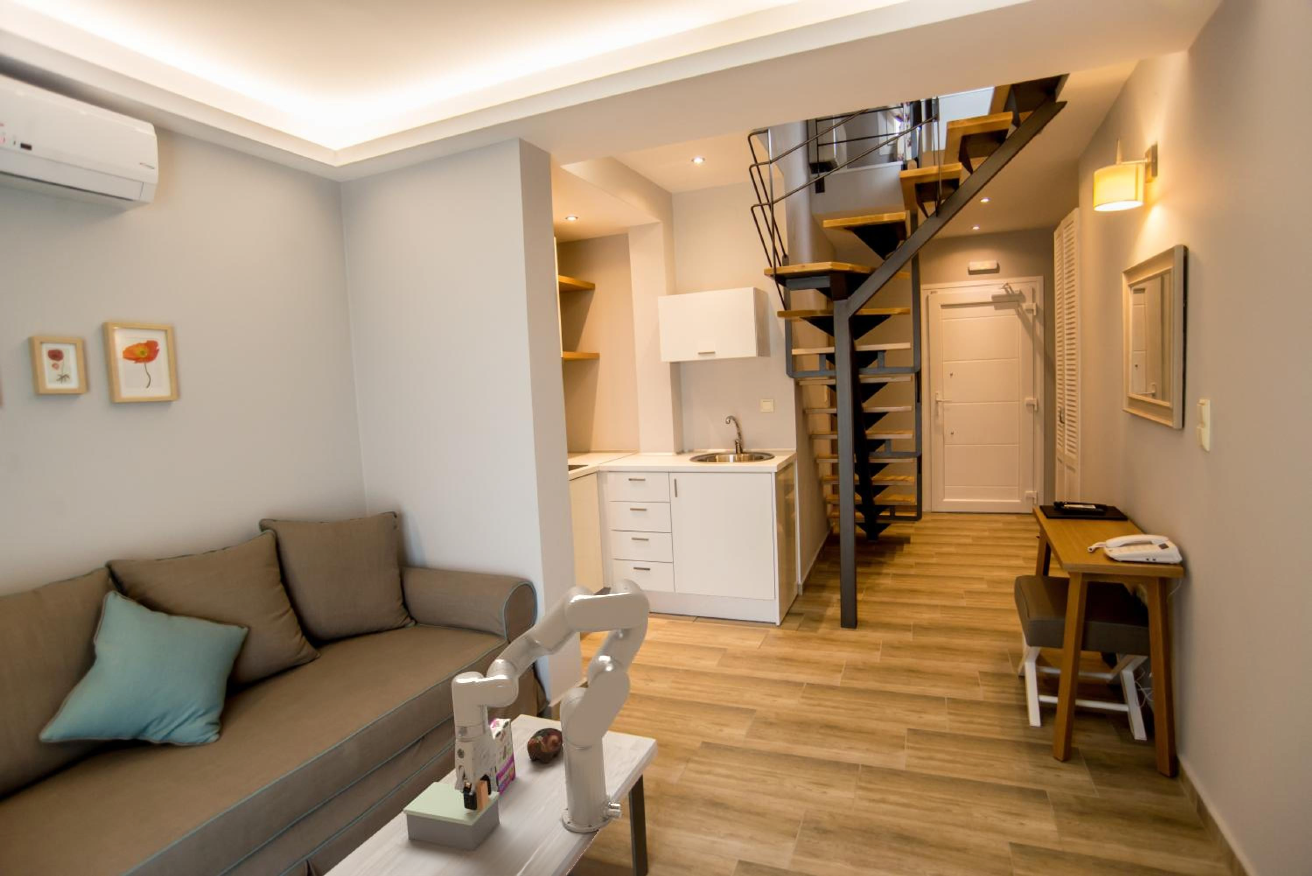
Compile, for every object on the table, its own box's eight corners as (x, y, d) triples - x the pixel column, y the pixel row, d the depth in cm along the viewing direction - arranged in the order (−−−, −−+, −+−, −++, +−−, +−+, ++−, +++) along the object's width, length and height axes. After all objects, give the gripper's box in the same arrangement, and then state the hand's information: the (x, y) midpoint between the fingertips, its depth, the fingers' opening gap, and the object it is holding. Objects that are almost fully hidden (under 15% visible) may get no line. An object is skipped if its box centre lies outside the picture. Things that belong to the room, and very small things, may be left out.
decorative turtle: (517, 768, 193) (515, 739, 193) (546, 745, 206) (544, 718, 207) (547, 772, 189) (544, 743, 189) (574, 748, 203) (572, 720, 203)
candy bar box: (499, 775, 190) (494, 717, 189) (516, 776, 189) (511, 718, 188) (481, 799, 179) (476, 738, 178) (499, 800, 178) (494, 739, 177)
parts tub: (499, 824, 168) (497, 797, 167) (473, 854, 157) (470, 825, 157) (438, 813, 174) (435, 787, 173) (408, 841, 163) (406, 813, 163)
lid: (499, 796, 167) (497, 770, 167) (471, 825, 156) (469, 798, 156) (434, 785, 174) (432, 761, 173) (403, 813, 163) (401, 787, 162)
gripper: (463, 747, 152) (470, 826, 153) (505, 711, 168) (511, 783, 169) (435, 743, 154) (442, 821, 156) (479, 708, 170) (485, 779, 172)
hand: (478, 800), depth 162 cm, fingers open, 5 cm apart
